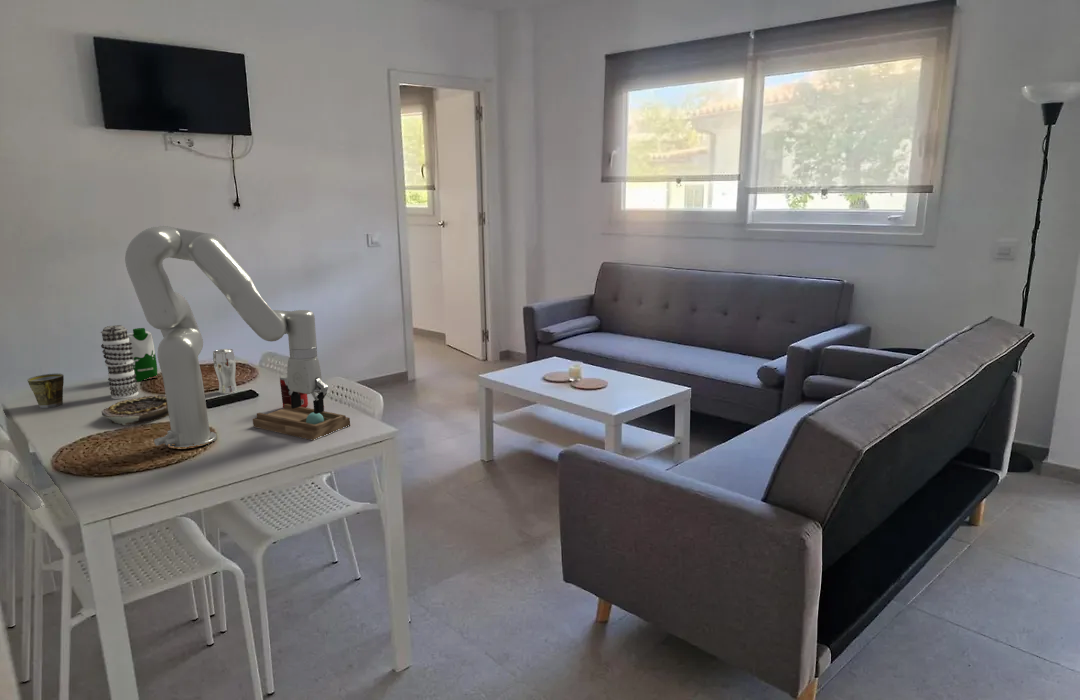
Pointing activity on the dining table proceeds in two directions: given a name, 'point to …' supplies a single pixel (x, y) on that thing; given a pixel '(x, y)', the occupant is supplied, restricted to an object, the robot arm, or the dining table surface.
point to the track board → (300, 422)
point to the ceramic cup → (47, 389)
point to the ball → (314, 418)
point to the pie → (137, 410)
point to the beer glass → (225, 370)
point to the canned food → (286, 396)
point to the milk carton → (143, 354)
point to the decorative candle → (119, 362)
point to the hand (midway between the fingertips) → (307, 410)
